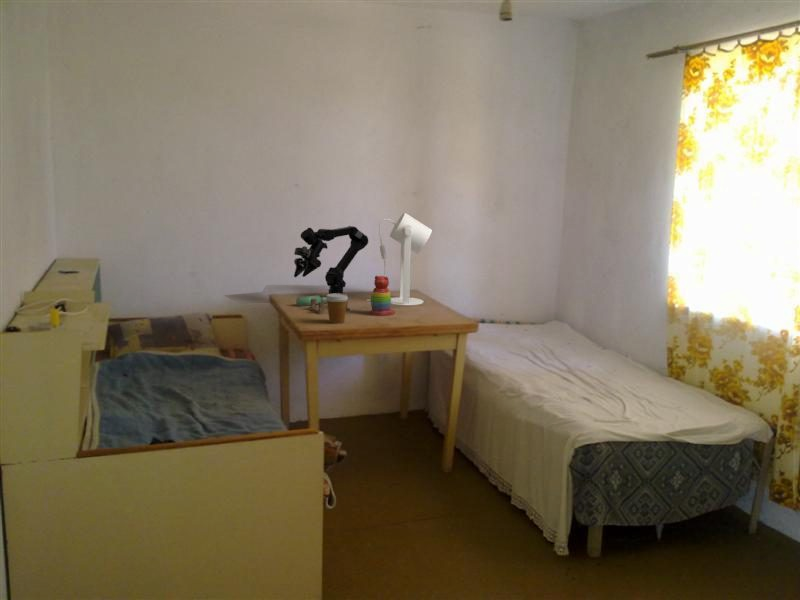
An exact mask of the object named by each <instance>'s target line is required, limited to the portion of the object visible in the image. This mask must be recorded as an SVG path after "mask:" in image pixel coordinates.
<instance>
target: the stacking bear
mask: <svg viewBox="0 0 800 600" xmlns="http://www.w3.org/2000/svg"><path fill="white" fill-rule="evenodd" d="M389 284H390V281H389V277H387V276H386V277H384V275H375V276H374V286H375V287H374V288H373V290H372V292H371V297H370V300H371V301H370V304H371V306H370V307H371V310H370V314H371V315H372V316H376V317H377V316H379V317H385V316H393V315H395V313H396V312H395V311H396V310H395V309H393V308H391V305H392V304H391V298H392V296H391V292H390V289H389V288H388V287H389Z"/></svg>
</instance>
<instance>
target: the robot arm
mask: <svg viewBox="0 0 800 600" xmlns="http://www.w3.org/2000/svg"><path fill="white" fill-rule="evenodd" d="M343 236H344V237H345V236H348V237H349V239H350V245H349V247H348V248H347V250H346V252H345V253H344V255H343V256H342V257H341V259H340V261H338V263H337V264H336V266H335V267H334V266H333V267H329V268H328V270H327V271H326V274H325V277H324V278H325V282H326V284H327V286H328V287H329V289H328V294H333V293H341V294H344V288H345V287H346V285H347V283H346V281H345V280H344V276H345V275H344V274H345V272H346V270H347V268H348V267H349V266H350V264H351V262H352V261H353V259H355V257H356V255H357V254H358V252H360V251H361V250H363V249H365V248H366V246H368V244H369V238H368V236H367V235H366V234H365V233H364V232H362V231H360V230H359V229H358V228H357V227H356V226H352V225H349V226H345V227H339V228H334V229H331V228H327V229H326V228H319V229H317V231H314V229H313V228H312V227H307V228H306V229H305V230H303V231H302V232H301V234H300V239H302V240H303V241H304V242H305V243H306V244H307V245H308V246H309V248H308V247H307V246H305V245H303V246H301V247H295V250H294V255H295V256H299V257H298V258H295V259H294V261H293V263H294V265H295V269H294V270H295V271H294V274H293V277H295V278H297V277H298V276H299V275H301V274H302V277H303V278H304V277H305V278H306V277H307V276H308V275H309V274H310V273H312V272H313V271H315V270H317V269H318V268H320V267H321V266H322V261H321V260H320V259H318V258H320V257H321V253H322V250H323V249H325V250H327V249H328V244H327V242H331V241H332V240H334V239H335V238H337V237H343Z"/></svg>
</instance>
